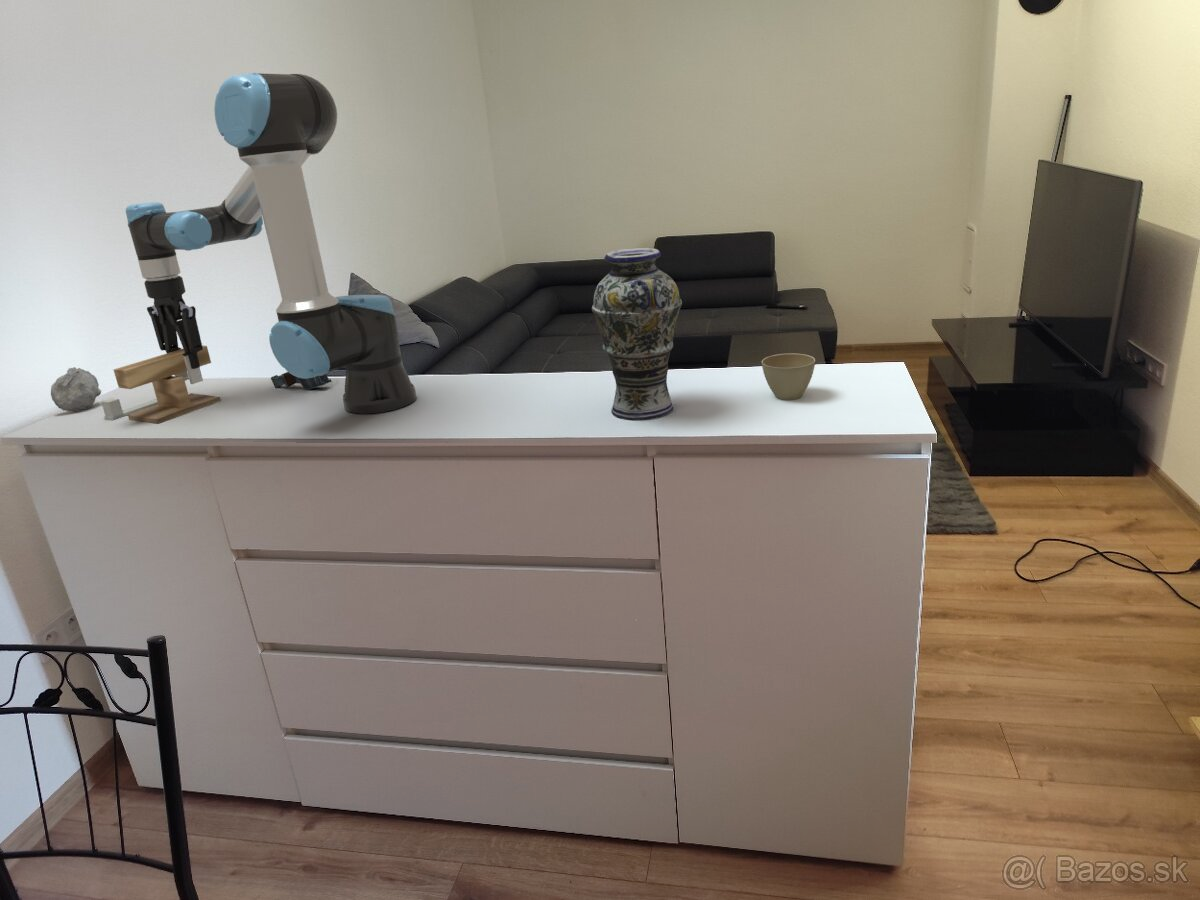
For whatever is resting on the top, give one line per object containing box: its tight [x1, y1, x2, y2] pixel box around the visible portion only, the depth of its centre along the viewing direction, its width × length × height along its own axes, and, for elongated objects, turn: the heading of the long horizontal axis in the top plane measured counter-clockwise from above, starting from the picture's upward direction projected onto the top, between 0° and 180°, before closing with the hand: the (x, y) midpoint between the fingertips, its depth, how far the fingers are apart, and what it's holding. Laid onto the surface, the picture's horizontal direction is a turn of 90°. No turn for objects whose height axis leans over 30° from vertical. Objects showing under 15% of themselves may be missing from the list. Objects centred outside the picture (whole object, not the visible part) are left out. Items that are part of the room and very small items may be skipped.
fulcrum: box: [127, 375, 222, 424], centre depth 189 cm, size 10×16×8 cm, turn 151°
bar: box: [112, 344, 212, 390], centre depth 186 cm, size 4×20×4 cm, turn 152°
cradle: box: [100, 397, 158, 421], centre depth 194 cm, size 3×19×4 cm, turn 151°
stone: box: [50, 367, 102, 412], centre depth 195 cm, size 9×7×10 cm
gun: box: [270, 371, 332, 391], centre depth 197 cm, size 3×17×15 cm
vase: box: [591, 247, 683, 421], centre depth 159 cm, size 17×17×30 cm
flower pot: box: [761, 352, 816, 401], centre depth 164 cm, size 10×10×7 cm
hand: (189, 381), depth 192 cm, fingers open, 4 cm apart
